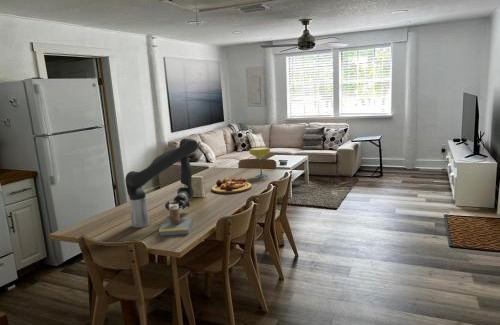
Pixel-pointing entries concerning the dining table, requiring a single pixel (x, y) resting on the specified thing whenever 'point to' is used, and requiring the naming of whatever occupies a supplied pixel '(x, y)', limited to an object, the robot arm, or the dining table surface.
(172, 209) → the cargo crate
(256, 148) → the cocktail glass
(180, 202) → the robot arm
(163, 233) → the dock
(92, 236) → the dining table surface
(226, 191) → the wooden plate with food
